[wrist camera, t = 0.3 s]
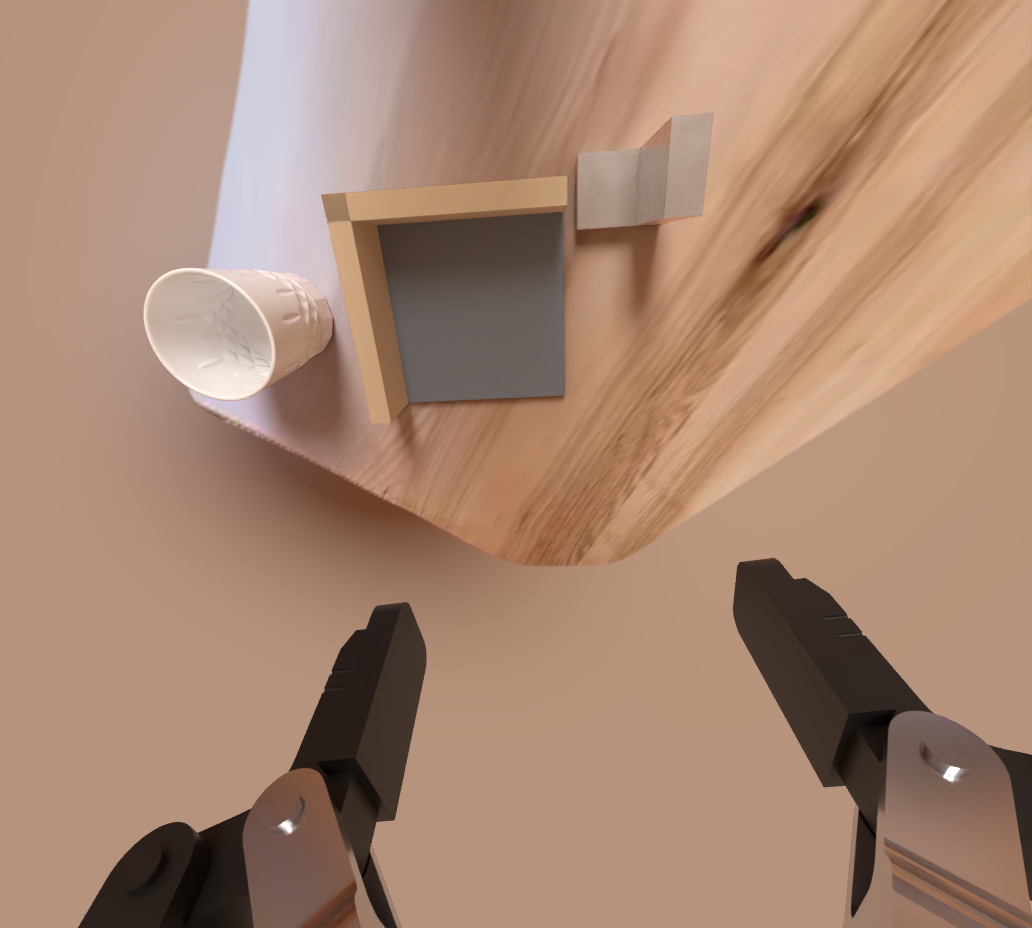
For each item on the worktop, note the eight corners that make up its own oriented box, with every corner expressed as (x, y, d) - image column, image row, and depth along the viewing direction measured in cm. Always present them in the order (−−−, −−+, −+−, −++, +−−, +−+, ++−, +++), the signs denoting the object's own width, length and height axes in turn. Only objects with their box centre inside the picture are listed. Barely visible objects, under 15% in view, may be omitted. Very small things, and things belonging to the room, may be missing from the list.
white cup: (355, 353, 36) (296, 387, 27) (272, 373, 37) (188, 412, 29) (316, 252, 33) (234, 252, 24) (225, 277, 34) (115, 286, 25)
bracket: (576, 157, 30) (591, 123, 22) (664, 150, 29) (713, 112, 21) (576, 230, 32) (589, 223, 24) (659, 224, 31) (702, 215, 23)
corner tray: (355, 203, 31) (321, 195, 26) (562, 188, 31) (567, 175, 26) (393, 401, 38) (371, 424, 33) (564, 393, 37) (568, 415, 32)
